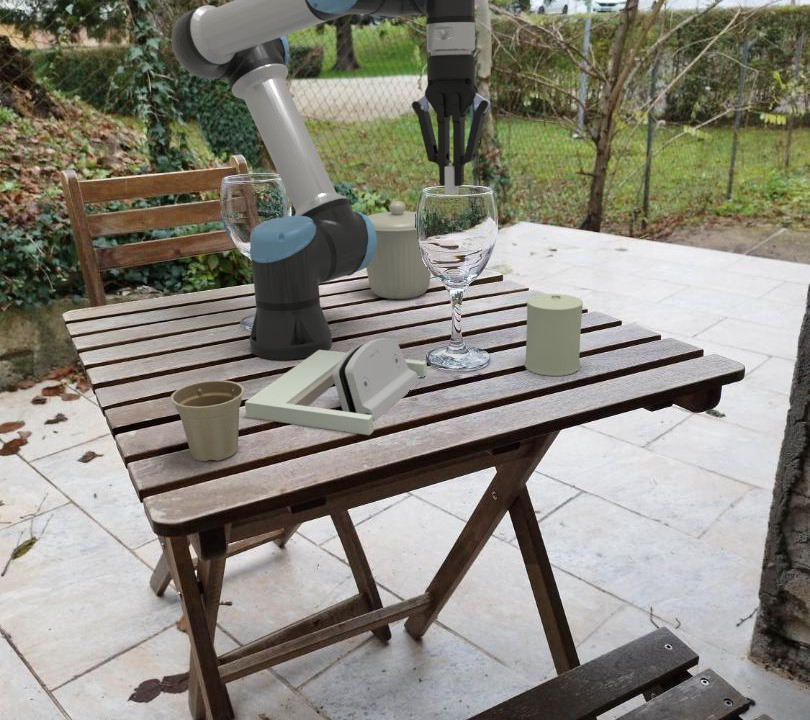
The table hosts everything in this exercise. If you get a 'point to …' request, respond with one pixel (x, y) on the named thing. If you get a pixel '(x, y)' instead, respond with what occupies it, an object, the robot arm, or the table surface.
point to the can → (553, 334)
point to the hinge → (373, 377)
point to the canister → (397, 256)
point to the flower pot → (210, 417)
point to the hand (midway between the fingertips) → (451, 205)
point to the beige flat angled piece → (312, 396)
